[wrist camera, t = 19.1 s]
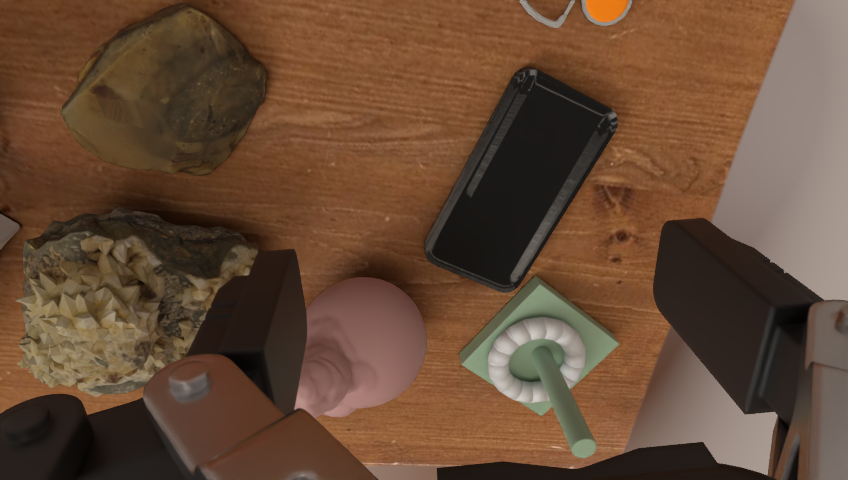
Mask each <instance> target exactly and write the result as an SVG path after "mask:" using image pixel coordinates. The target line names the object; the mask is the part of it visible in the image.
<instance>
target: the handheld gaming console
mask: <svg viewBox="0 0 848 480" xmlns="http://www.w3.org/2000/svg"><path fill="white" fill-rule="evenodd" d="M19 228H20V226H19V224H18V223H16V222H14V221H12V220H10V219H9V218H7V217H5V216H3V215H2V214H0V250H1V249H2V247H3V246H4V245H5V244H6V243H7V242H8V241H9V240H10V238H11V237H12V236H13V235H14V234H15V233H17V232H18V231H19Z"/></svg>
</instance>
